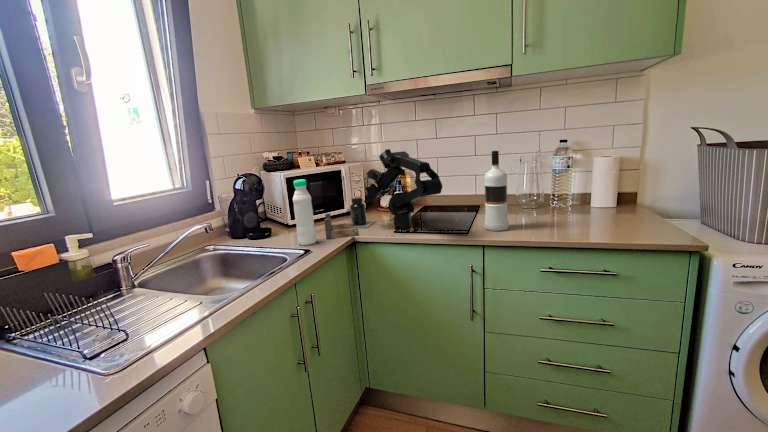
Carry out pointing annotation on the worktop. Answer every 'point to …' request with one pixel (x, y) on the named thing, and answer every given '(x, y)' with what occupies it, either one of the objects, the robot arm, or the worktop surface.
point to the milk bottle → (303, 214)
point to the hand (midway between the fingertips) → (369, 200)
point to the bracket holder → (338, 229)
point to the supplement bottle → (358, 212)
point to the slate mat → (368, 224)
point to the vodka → (496, 197)
